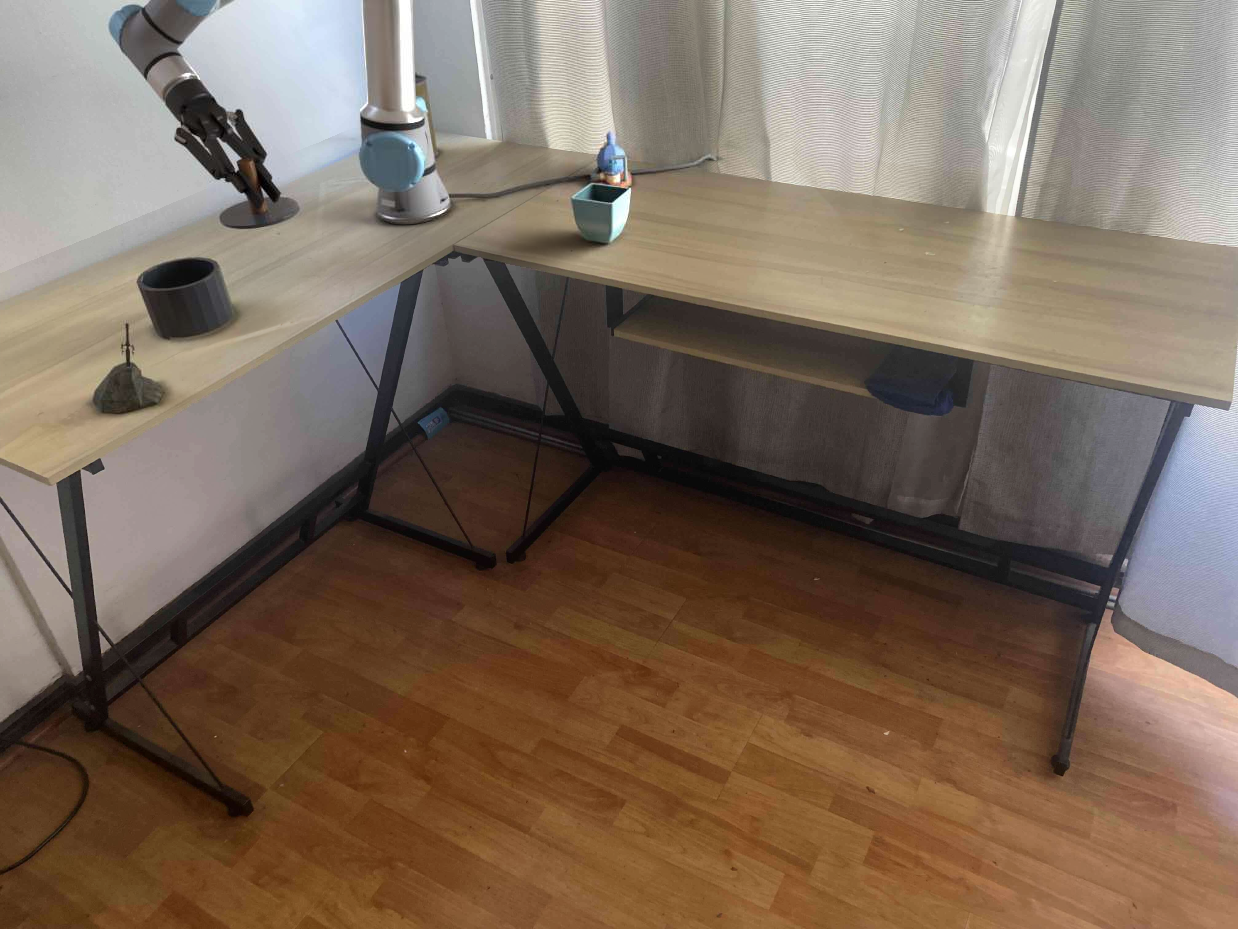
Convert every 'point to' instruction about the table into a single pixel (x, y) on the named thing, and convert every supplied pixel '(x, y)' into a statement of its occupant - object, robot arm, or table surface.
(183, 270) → the tin
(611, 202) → the flower pot
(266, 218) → the lid
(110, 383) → the sword in stone
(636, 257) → the table surface
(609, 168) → the model
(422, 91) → the canister
